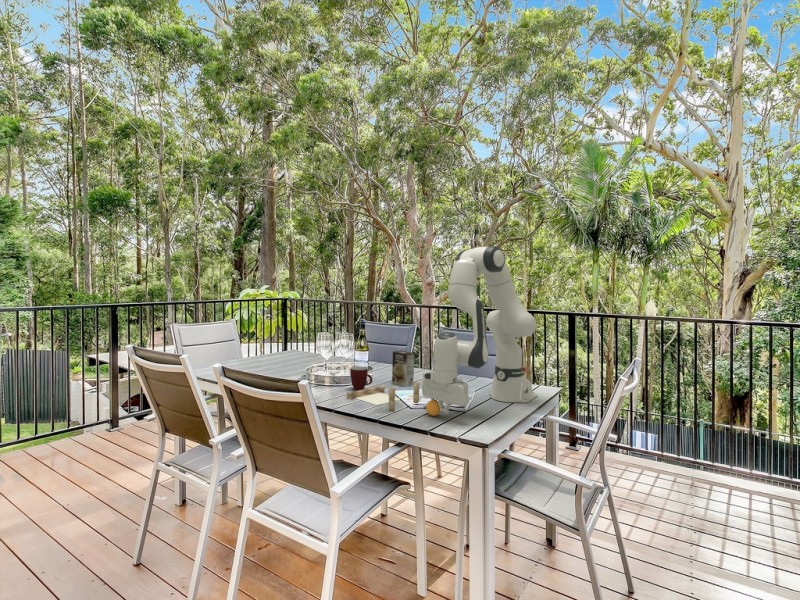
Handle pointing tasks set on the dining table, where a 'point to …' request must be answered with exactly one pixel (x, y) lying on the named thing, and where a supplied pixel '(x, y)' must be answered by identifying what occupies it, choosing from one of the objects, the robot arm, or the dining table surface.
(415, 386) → the post
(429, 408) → the ball
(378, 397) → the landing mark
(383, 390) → the stopper wall
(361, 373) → the mug
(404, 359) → the coffee box
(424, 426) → the dining table surface
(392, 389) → the post
